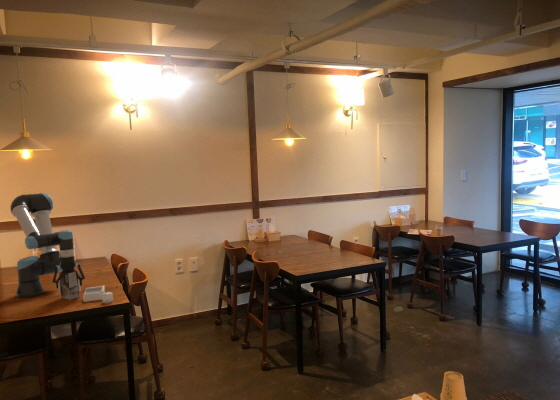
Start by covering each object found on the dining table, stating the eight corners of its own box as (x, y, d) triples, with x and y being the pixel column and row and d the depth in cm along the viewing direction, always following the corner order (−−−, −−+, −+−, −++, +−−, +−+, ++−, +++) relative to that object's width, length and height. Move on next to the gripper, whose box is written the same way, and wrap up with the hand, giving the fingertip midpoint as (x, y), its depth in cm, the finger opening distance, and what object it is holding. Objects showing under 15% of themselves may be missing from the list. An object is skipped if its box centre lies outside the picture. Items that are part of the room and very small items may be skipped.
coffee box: (79, 297, 262) (77, 270, 261) (70, 300, 256) (68, 273, 255) (70, 295, 267) (68, 269, 265) (60, 298, 261) (58, 271, 260)
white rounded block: (102, 303, 247) (101, 295, 247) (102, 301, 253) (102, 292, 252) (112, 302, 249) (112, 294, 249) (113, 299, 254) (112, 291, 254)
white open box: (83, 301, 252) (82, 293, 252) (85, 295, 265) (85, 287, 265) (103, 299, 256) (103, 291, 255) (105, 292, 269) (104, 285, 268)
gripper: (44, 259, 252) (47, 296, 254) (87, 255, 260) (89, 291, 261) (47, 256, 259) (50, 292, 261) (88, 253, 267) (90, 288, 268)
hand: (69, 292), depth 261 cm, fingers closed on coffee box, 10 cm apart
